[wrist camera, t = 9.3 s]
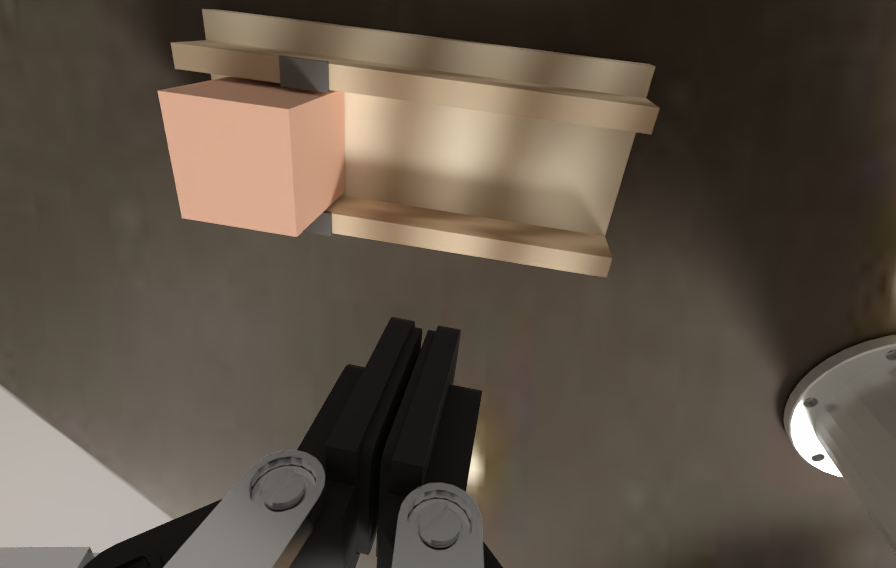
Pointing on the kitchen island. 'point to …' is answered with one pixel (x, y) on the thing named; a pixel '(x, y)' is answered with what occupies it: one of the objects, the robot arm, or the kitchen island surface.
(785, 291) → the kitchen island surface
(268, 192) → the block
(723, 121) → the kitchen island surface
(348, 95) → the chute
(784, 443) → the kitchen island surface
